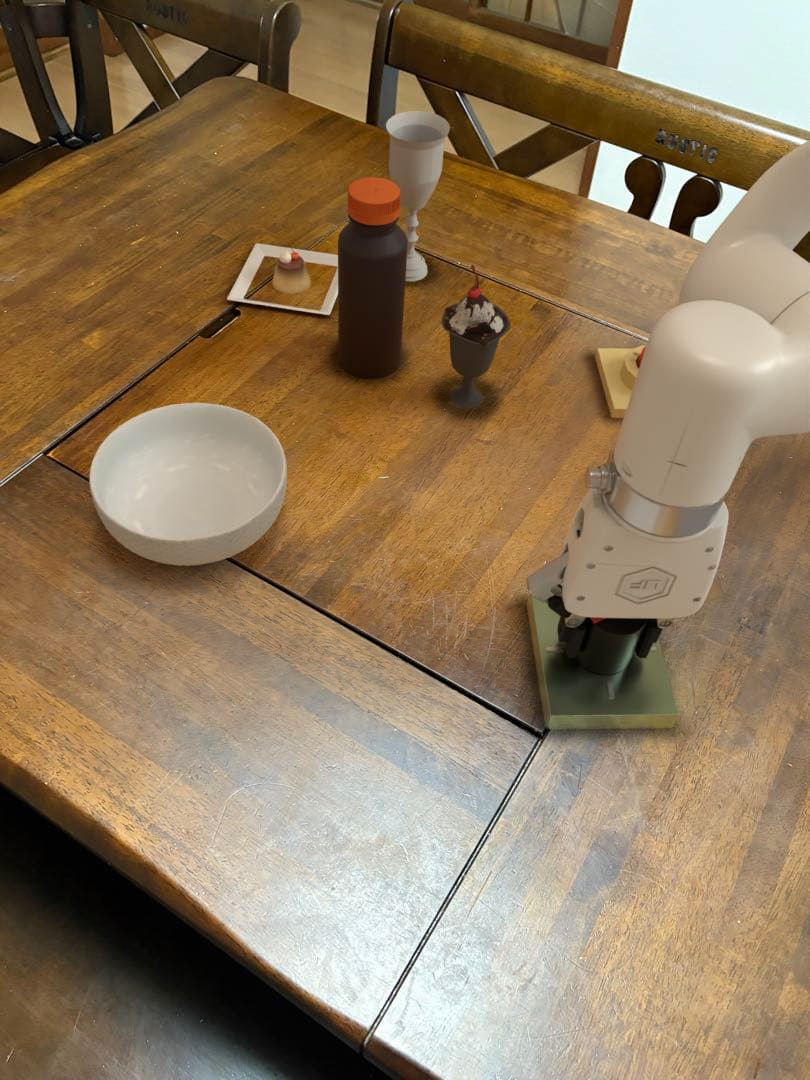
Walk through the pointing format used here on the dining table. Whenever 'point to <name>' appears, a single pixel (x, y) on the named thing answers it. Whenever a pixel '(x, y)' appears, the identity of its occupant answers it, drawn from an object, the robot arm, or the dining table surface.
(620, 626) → the hob knob
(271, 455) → the cereal bowl
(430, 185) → the chalice
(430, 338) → the dining table surface
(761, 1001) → the dining table surface
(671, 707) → the panel
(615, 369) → the switch
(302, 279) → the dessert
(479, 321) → the sundae
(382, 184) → the bottle
